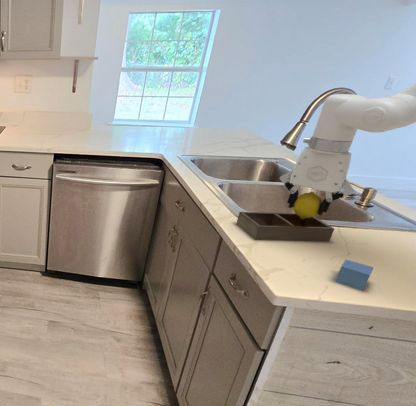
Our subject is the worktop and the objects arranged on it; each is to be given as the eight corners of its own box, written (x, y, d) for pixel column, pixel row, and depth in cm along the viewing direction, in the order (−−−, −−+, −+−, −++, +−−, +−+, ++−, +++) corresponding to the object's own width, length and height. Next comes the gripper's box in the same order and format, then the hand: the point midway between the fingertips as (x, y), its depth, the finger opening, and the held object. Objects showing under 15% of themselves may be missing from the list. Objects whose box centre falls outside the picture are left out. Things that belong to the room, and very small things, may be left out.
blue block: (365, 284, 81) (373, 267, 79) (361, 292, 78) (370, 275, 77) (338, 275, 84) (345, 259, 82) (333, 283, 82) (341, 266, 80)
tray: (328, 243, 97) (334, 228, 96) (254, 241, 100) (258, 226, 98) (303, 227, 106) (308, 213, 104) (235, 225, 108) (239, 211, 106)
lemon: (303, 224, 97) (313, 196, 94) (284, 215, 102) (293, 189, 99) (321, 222, 98) (331, 195, 95) (301, 213, 103) (310, 187, 100)
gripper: (283, 141, 96) (263, 204, 103) (375, 154, 84) (345, 224, 91) (291, 137, 100) (272, 197, 108) (380, 148, 88) (351, 216, 95)
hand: (305, 209), depth 99 cm, fingers closed on lemon, 5 cm apart
